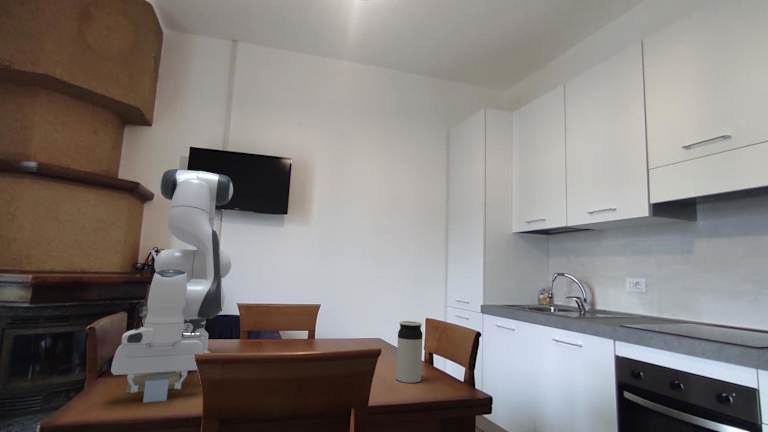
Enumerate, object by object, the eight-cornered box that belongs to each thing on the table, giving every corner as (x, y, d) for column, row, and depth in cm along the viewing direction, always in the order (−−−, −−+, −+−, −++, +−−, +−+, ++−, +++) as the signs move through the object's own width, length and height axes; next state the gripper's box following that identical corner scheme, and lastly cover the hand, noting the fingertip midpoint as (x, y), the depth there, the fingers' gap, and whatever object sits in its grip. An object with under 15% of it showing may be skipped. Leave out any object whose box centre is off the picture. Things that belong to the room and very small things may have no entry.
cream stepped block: (131, 380, 112) (135, 351, 113) (179, 377, 117) (182, 349, 118) (126, 392, 101) (130, 360, 102) (178, 388, 106) (181, 357, 107)
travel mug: (412, 385, 120) (414, 324, 123) (391, 379, 125) (393, 321, 127) (425, 380, 126) (427, 322, 129) (405, 375, 131) (407, 320, 134)
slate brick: (144, 396, 99) (147, 376, 100) (167, 394, 101) (169, 374, 102) (142, 402, 95) (145, 381, 95) (166, 400, 97) (168, 379, 97)
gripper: (207, 330, 107) (201, 383, 105) (118, 332, 98) (110, 390, 96) (208, 334, 102) (202, 390, 100) (114, 336, 93) (105, 398, 91)
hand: (156, 390), depth 98 cm, fingers open, 8 cm apart
